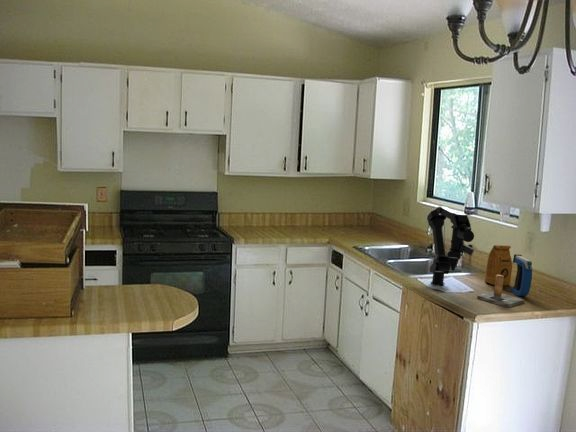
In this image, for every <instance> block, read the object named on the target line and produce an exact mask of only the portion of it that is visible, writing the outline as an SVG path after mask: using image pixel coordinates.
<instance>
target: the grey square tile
mask: <svg viewBox="0 0 576 432" xmlns="http://www.w3.org/2000/svg"><path fill="white" fill-rule="evenodd" d="M493 295H494V291H490V292H486V293H481V294H478V295H477V296H476V298H477V300H482V301H484V302H488V303H490V304H493V305H494V304H495V305H498V306H501V307H504V308H511V307H515V306H518V305H522V304H524V303H525V299H524V298H520V297H516V296H512V295H509V294H505V293H502V295H501V301H498V300H494V299H493Z"/></svg>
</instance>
